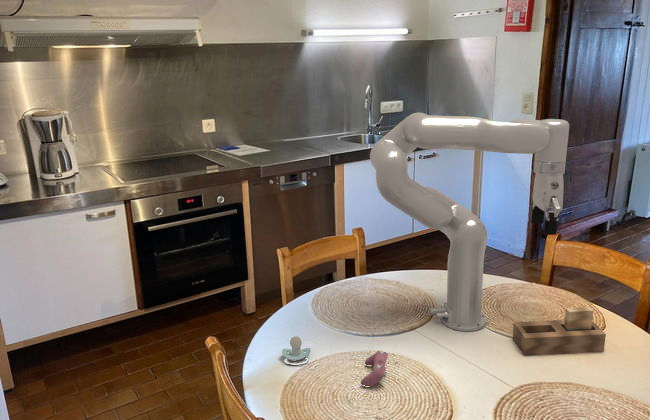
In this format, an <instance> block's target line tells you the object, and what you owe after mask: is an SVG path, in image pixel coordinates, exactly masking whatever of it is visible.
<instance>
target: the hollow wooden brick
mask: <svg viewBox="0 0 650 420" xmlns="http://www.w3.org/2000/svg"><path fill="white" fill-rule="evenodd" d="M564 322H565V319H556V320H555V319H553V320H536V321H535V320H534V321H533V320H532V321H531V320H530V321H513V328H512V341H513V342H514V343H515V345H516V346H517V348H518V349H519V351H520V352H521V353H522V355H523V356H524V357H529V356H546V355H548V356H549V355H569V354H585V353H586V354H588V353H589V354H590V353H604V352H605V344H606V335H607V333H605V331H603V330H602V329H601V328H600V327H599V326H598V325H597V324H596V323H595V322H594V321H593V320H592V328H591V330H584V331H566V330H565V329H564Z"/></svg>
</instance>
